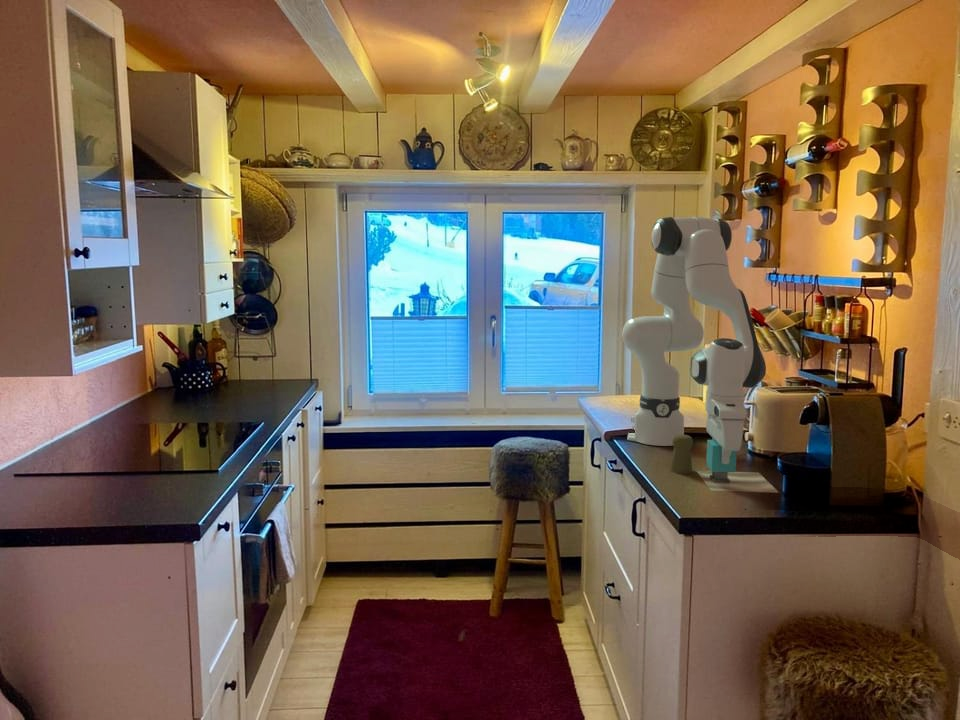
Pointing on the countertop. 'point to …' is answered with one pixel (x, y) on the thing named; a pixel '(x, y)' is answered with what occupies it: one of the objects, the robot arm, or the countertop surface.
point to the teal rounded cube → (719, 458)
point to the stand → (736, 481)
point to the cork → (681, 454)
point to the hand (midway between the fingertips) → (721, 459)
